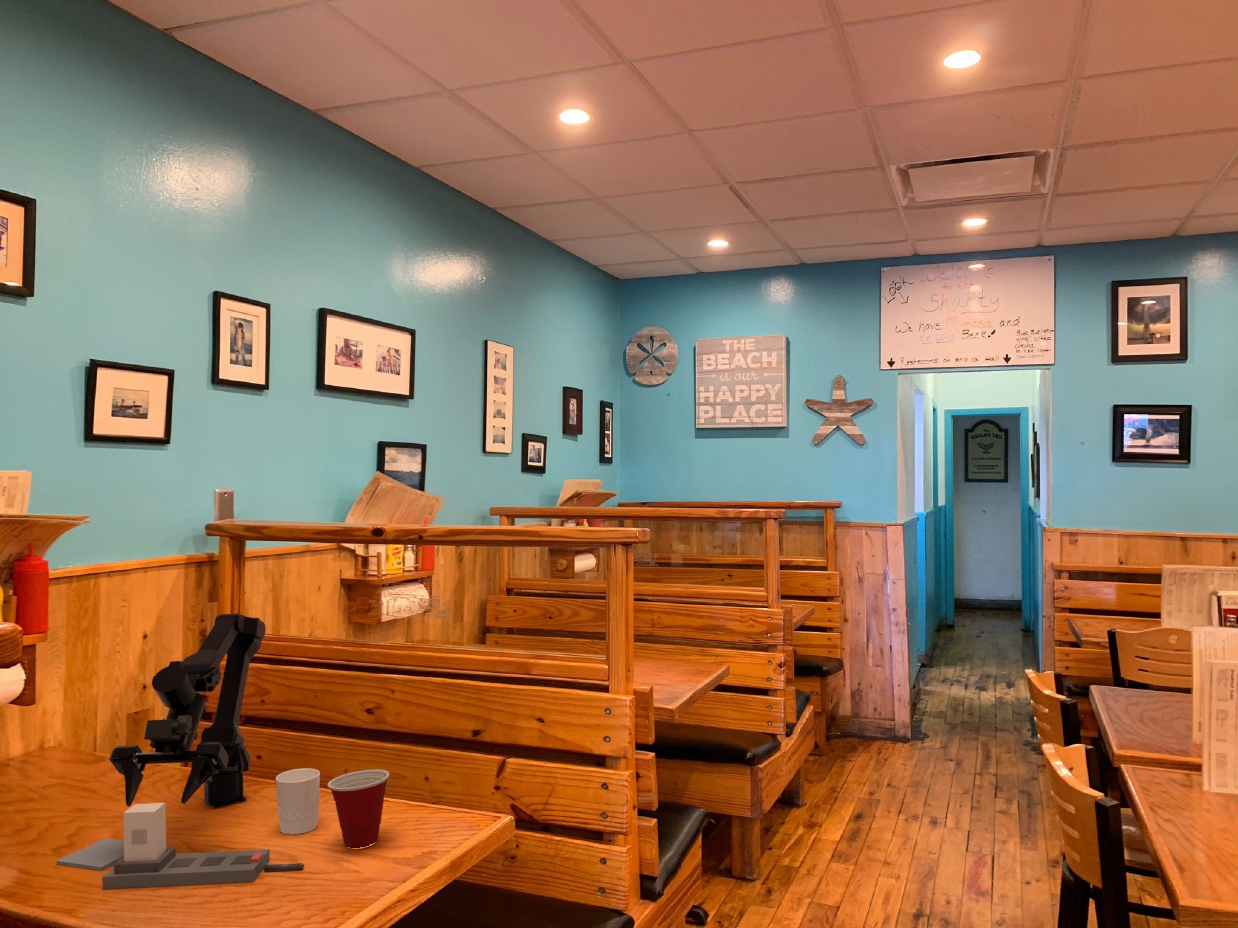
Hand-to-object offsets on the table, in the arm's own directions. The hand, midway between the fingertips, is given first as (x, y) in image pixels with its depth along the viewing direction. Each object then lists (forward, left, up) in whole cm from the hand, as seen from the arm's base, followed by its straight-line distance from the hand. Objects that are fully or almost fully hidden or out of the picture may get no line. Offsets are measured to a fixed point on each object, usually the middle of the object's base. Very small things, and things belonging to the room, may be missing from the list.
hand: (155, 803), depth 154 cm
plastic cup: (-30, +16, -11) cm, 35 cm away
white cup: (-25, +1, -11) cm, 27 cm away
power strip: (-6, +10, -11) cm, 16 cm away
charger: (+2, +3, -9) cm, 10 cm away
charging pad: (+5, -12, -11) cm, 17 cm away
